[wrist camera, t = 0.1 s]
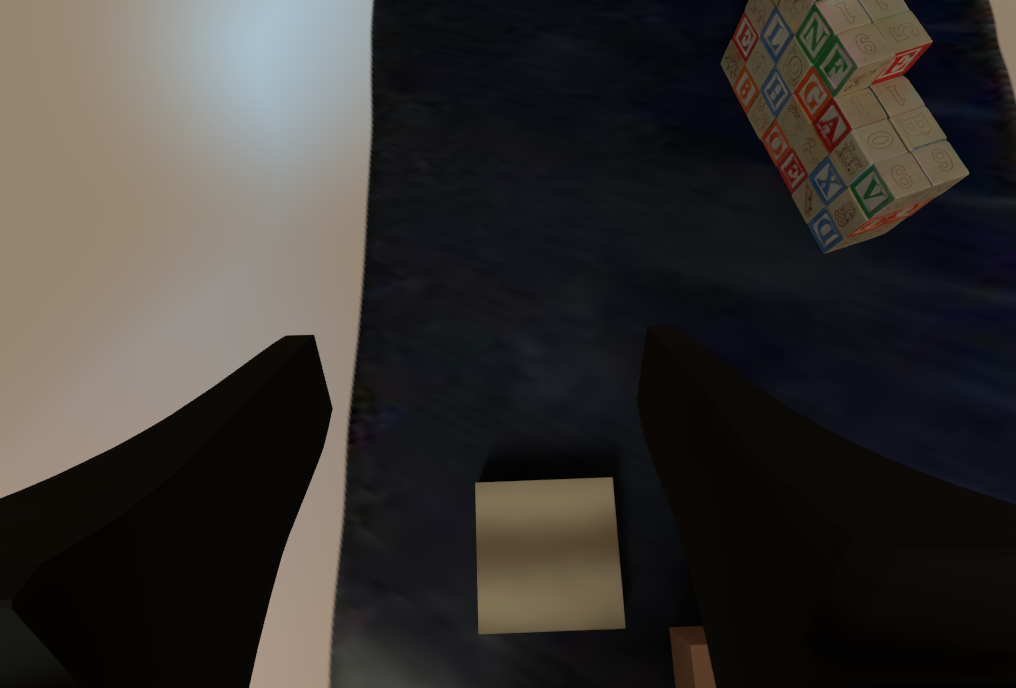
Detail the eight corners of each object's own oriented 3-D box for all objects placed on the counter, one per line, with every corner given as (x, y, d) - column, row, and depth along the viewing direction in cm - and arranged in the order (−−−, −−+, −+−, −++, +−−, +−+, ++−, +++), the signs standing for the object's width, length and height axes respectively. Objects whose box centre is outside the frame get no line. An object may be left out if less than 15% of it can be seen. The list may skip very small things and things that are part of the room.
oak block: (617, 618, 40) (625, 628, 37) (481, 624, 40) (478, 634, 37) (605, 478, 43) (612, 477, 40) (478, 483, 43) (475, 482, 40)
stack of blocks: (886, 235, 48) (1009, 148, 36) (821, 256, 47) (924, 176, 36) (776, 45, 53) (851, -84, 41) (717, 63, 53) (775, -63, 41)
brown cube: (745, 699, 39) (778, 729, 34) (676, 702, 39) (700, 732, 34) (735, 624, 40) (765, 642, 35) (669, 627, 40) (690, 645, 35)
